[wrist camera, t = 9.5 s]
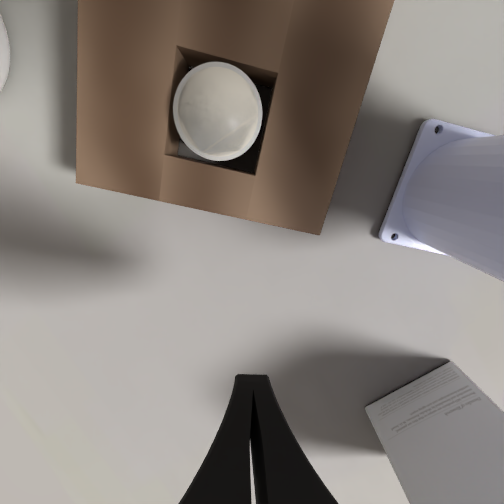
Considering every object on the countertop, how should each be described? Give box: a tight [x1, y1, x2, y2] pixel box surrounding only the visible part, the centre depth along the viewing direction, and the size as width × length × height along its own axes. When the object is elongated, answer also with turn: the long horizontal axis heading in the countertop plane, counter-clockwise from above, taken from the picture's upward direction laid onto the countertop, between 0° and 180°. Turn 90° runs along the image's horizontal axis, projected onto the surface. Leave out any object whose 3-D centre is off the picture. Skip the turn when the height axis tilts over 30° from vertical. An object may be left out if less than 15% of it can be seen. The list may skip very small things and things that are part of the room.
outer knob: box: [173, 62, 262, 161], centre depth 15 cm, size 4×4×3 cm
